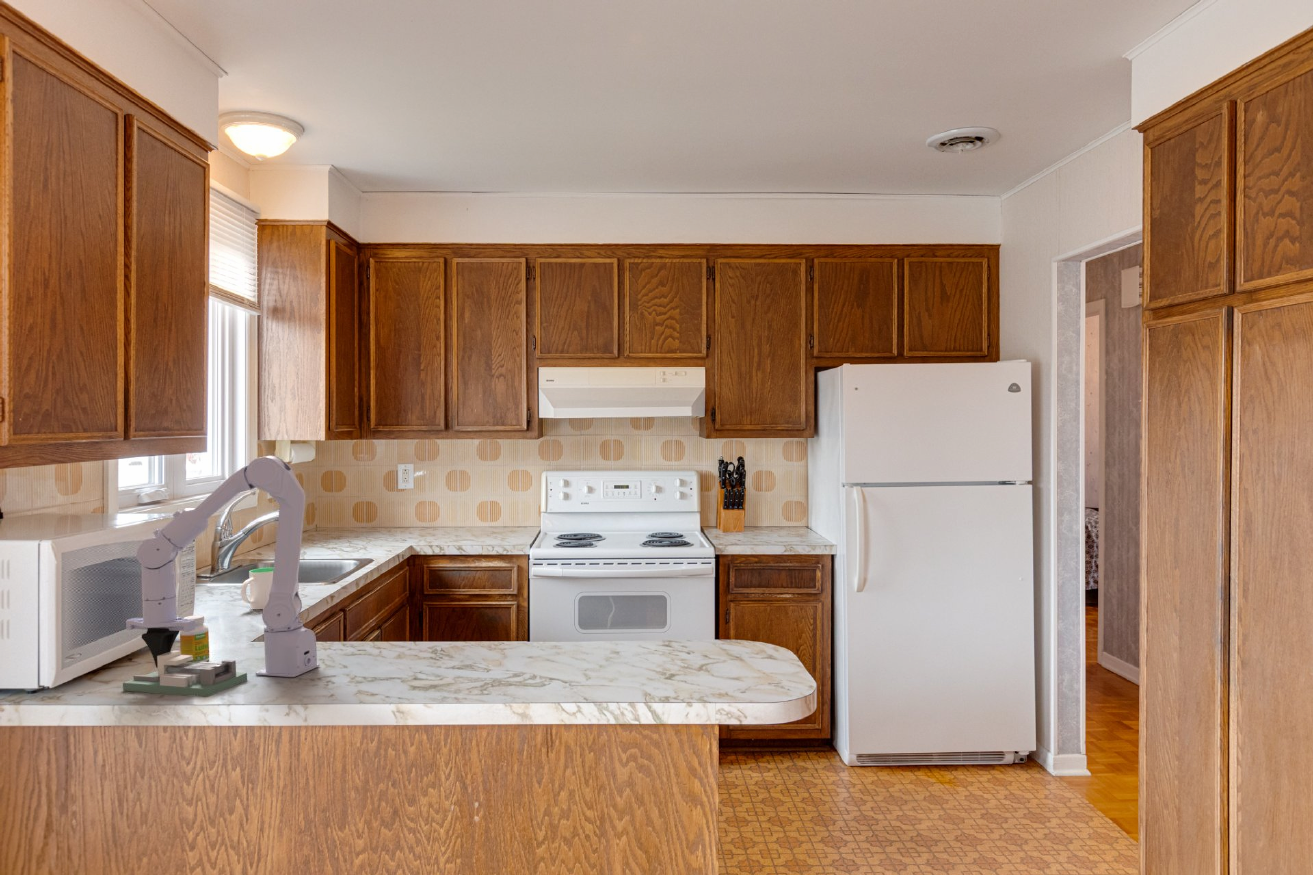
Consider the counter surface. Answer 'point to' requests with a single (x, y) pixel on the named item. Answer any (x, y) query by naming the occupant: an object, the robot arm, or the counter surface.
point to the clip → (171, 661)
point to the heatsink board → (188, 681)
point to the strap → (197, 668)
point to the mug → (258, 587)
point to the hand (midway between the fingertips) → (162, 666)
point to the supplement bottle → (195, 641)
